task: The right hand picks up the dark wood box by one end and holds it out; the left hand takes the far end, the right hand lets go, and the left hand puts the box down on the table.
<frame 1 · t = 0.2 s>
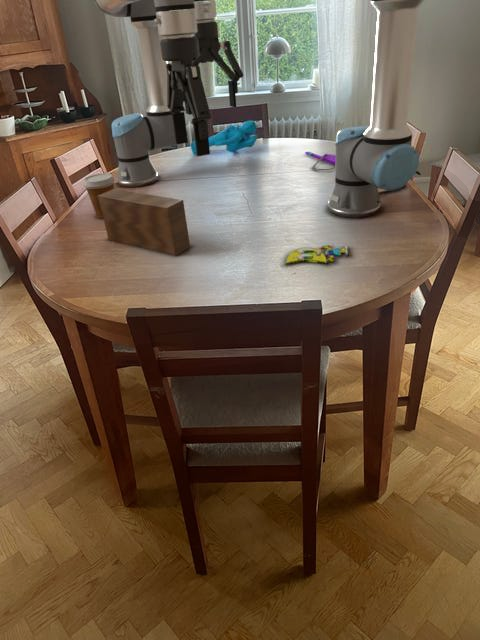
left hand: (211, 110, 135), 29 cm above the table, tool pointing down, fingers open, 13 cm apart
right hand: (192, 149, 105), 27 cm above the table, tool pointing down, fingers open, 13 cm apart
toy 2: (316, 256, 118), on the table
disposable coffee cup: (106, 215, 155), on the table
toy: (224, 152, 211), on the table
box: (147, 243, 133), on the table
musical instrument: (322, 163, 185), on the table
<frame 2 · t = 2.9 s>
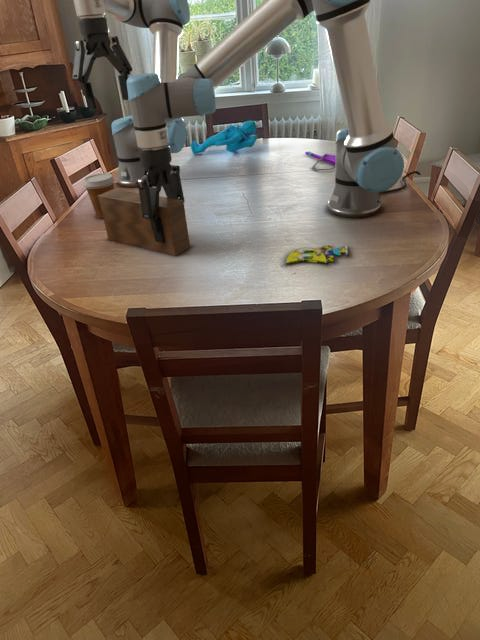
left hand: (110, 104, 139), 32 cm above the table, tool pointing down, fingers open, 13 cm apart
right hand: (168, 236, 127), 3 cm above the table, tool pointing down, fingers closed on box, 6 cm apart
box: (147, 243, 133), on the table, touching right hand
everything else where it was.
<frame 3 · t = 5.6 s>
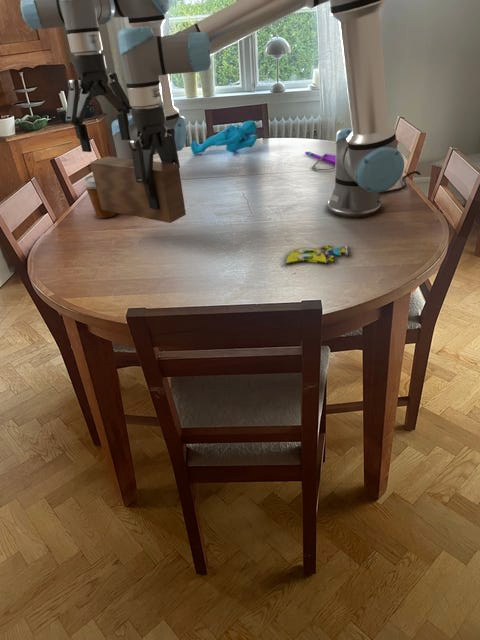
left hand: (107, 145, 126), 25 cm above the table, tool pointing down, fingers open, 13 cm apart
right hand: (163, 203, 122), 12 cm above the table, tool pointing down, fingers closed on box, 6 cm apart
box: (142, 212, 128), point 9 cm above the table, touching right hand
everything else where it was.
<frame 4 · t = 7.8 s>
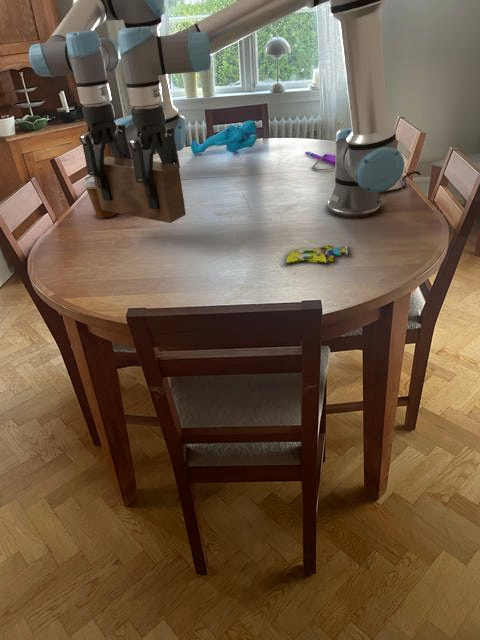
left hand: (117, 195, 130), 13 cm above the table, tool pointing down, fingers closed on box, 6 cm apart
right hand: (163, 203, 122), 12 cm above the table, tool pointing down, fingers closed on box, 6 cm apart
box: (142, 212, 128), point 9 cm above the table, touching left hand, right hand
everything else where it was.
when the right hand's fingers open (12 cm above the table, at t = 8.6 s): box stays where it is, held by the left hand.
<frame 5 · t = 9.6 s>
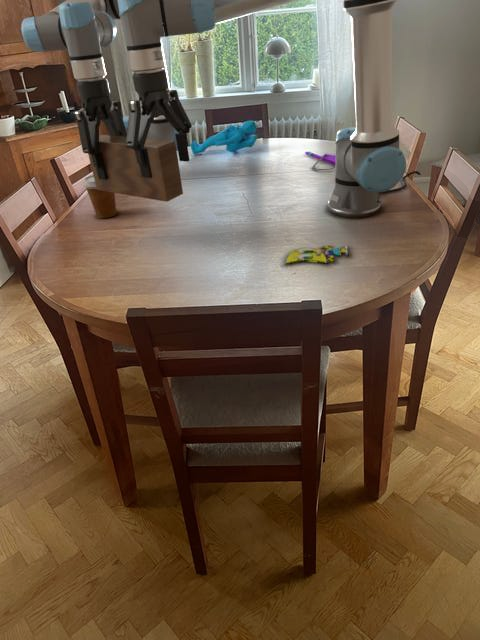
left hand: (112, 174, 128), 18 cm above the table, tool pointing down, fingers closed on box, 6 cm apart
right hand: (166, 168, 116), 21 cm above the table, tool pointing down, fingers open, 13 cm apart
box: (138, 191, 125), point 14 cm above the table, touching left hand
everything else where it was.
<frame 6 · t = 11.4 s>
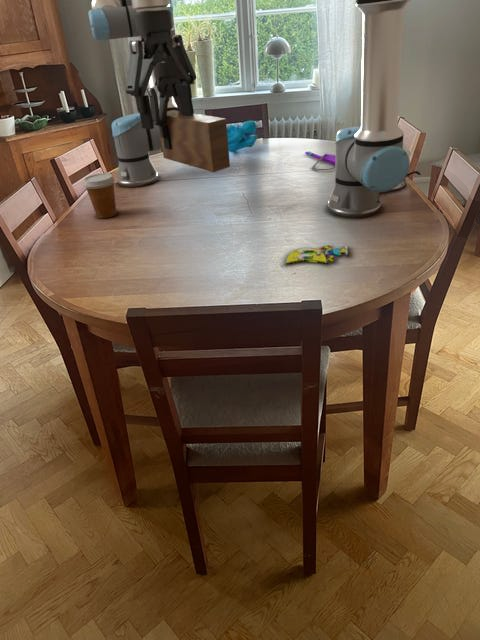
left hand: (177, 145, 146), 19 cm above the table, tool pointing down, fingers closed on box, 6 cm apart
right hand: (168, 121, 108), 32 cm above the table, tool pointing down, fingers open, 13 cm apart
box: (195, 162, 143), point 15 cm above the table, touching left hand
everything else where it was.
when the left hand's fingers open (5 cm above the table, at t = 15.3 s): box stays where it is, on the table.
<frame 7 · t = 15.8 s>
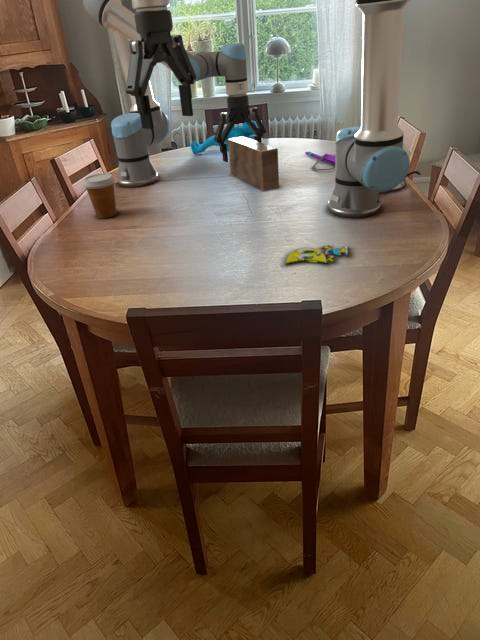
left hand: (241, 158, 177), 6 cm above the table, tool pointing down, fingers open, 13 cm apart
right hand: (168, 121, 108), 32 cm above the table, tool pointing down, fingers open, 13 cm apart
box: (253, 180, 174), on the table
everything else where it was.
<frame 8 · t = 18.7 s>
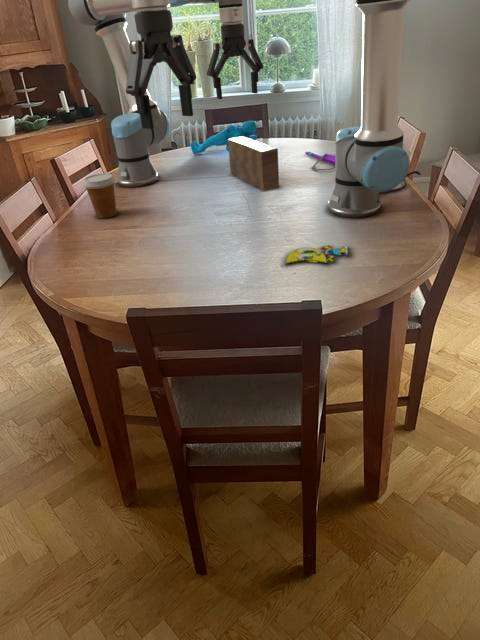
left hand: (237, 95, 165), 27 cm above the table, tool pointing down, fingers open, 13 cm apart
right hand: (168, 121, 108), 32 cm above the table, tool pointing down, fingers open, 13 cm apart
nothing on the table moved.
at the end: box inside the target area (8.6 cm from its centre), on the table; the left hand is holding nothing; the right hand is holding nothing; box at rest at the end (0.0 cm/s) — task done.
